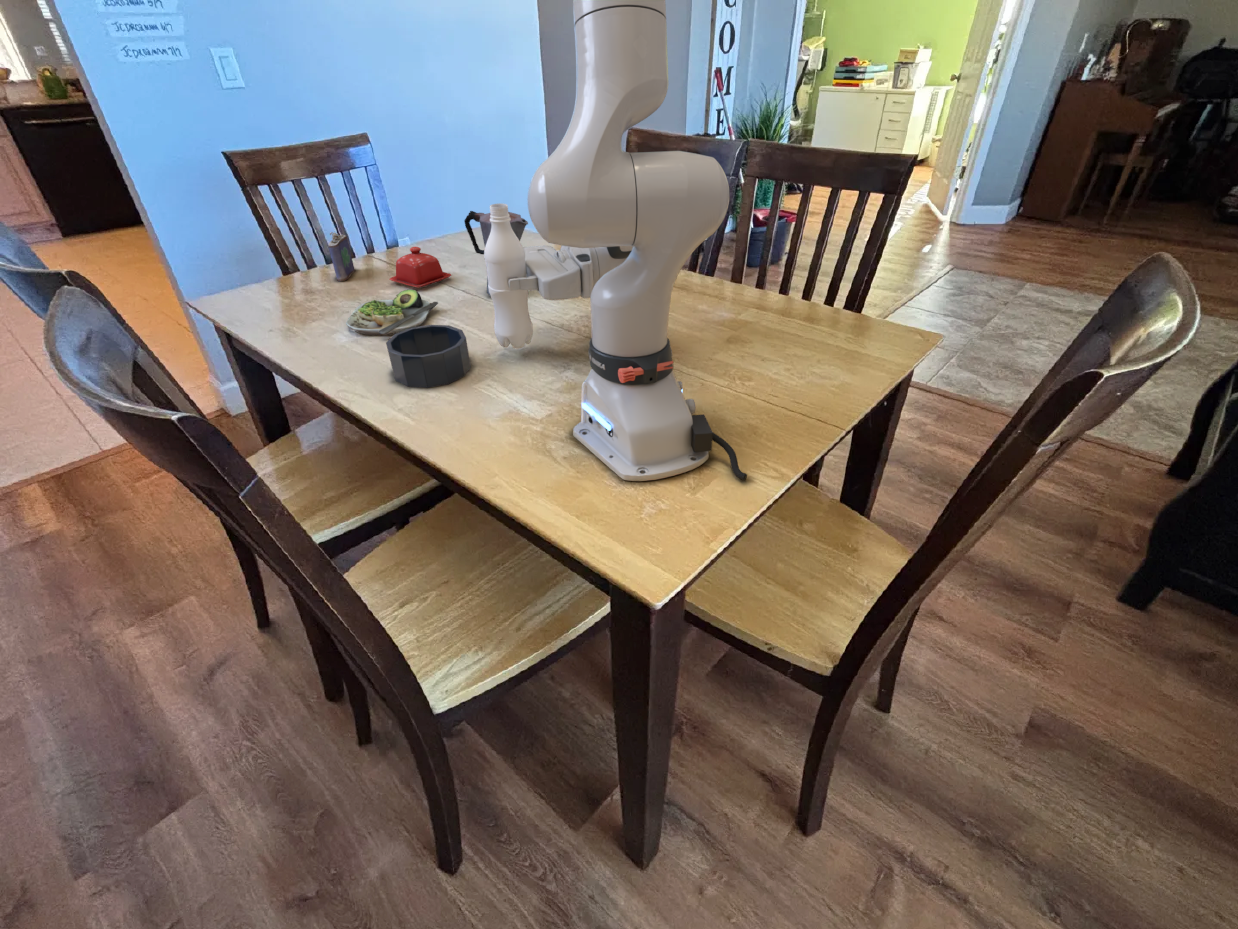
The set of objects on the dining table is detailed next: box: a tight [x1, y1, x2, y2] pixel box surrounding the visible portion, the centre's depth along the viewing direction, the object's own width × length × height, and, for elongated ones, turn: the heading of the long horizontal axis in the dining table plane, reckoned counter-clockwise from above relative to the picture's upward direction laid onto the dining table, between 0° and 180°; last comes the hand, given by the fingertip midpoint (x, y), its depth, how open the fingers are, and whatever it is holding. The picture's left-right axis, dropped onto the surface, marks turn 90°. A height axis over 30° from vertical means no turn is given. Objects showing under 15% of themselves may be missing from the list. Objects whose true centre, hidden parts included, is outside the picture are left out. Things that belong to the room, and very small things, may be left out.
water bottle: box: [483, 202, 534, 350], centre depth 112 cm, size 7×7×25 cm
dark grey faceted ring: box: [385, 324, 472, 389], centre depth 114 cm, size 14×14×6 cm
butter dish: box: [389, 246, 452, 289], centre depth 152 cm, size 12×12×8 cm
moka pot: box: [463, 210, 529, 297], centre depth 142 cm, size 10×15×20 cm, turn 78°
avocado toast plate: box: [345, 289, 439, 336], centre depth 132 cm, size 19×18×5 cm
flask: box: [327, 231, 356, 282], centre depth 156 cm, size 9×3×11 cm, turn 2°
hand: (502, 276), depth 111 cm, fingers closed on water bottle, 7 cm apart
